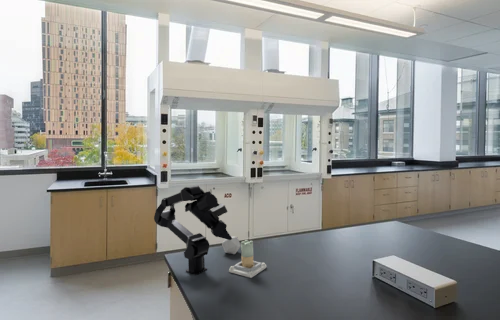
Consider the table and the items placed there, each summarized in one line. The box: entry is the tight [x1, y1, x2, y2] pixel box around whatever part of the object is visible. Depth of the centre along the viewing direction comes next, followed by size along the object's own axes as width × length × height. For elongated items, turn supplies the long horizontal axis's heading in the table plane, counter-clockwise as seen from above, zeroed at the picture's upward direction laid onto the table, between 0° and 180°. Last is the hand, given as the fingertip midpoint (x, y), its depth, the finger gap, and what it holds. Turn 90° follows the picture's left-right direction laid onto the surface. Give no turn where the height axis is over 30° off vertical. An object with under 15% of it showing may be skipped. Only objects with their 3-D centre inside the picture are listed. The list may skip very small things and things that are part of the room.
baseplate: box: [228, 260, 267, 279], centre depth 135 cm, size 12×11×2 cm
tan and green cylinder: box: [240, 239, 255, 268], centre depth 134 cm, size 5×5×11 cm
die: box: [221, 235, 241, 255], centre depth 155 cm, size 8×9×10 cm
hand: (228, 236), depth 137 cm, fingers open, 9 cm apart
